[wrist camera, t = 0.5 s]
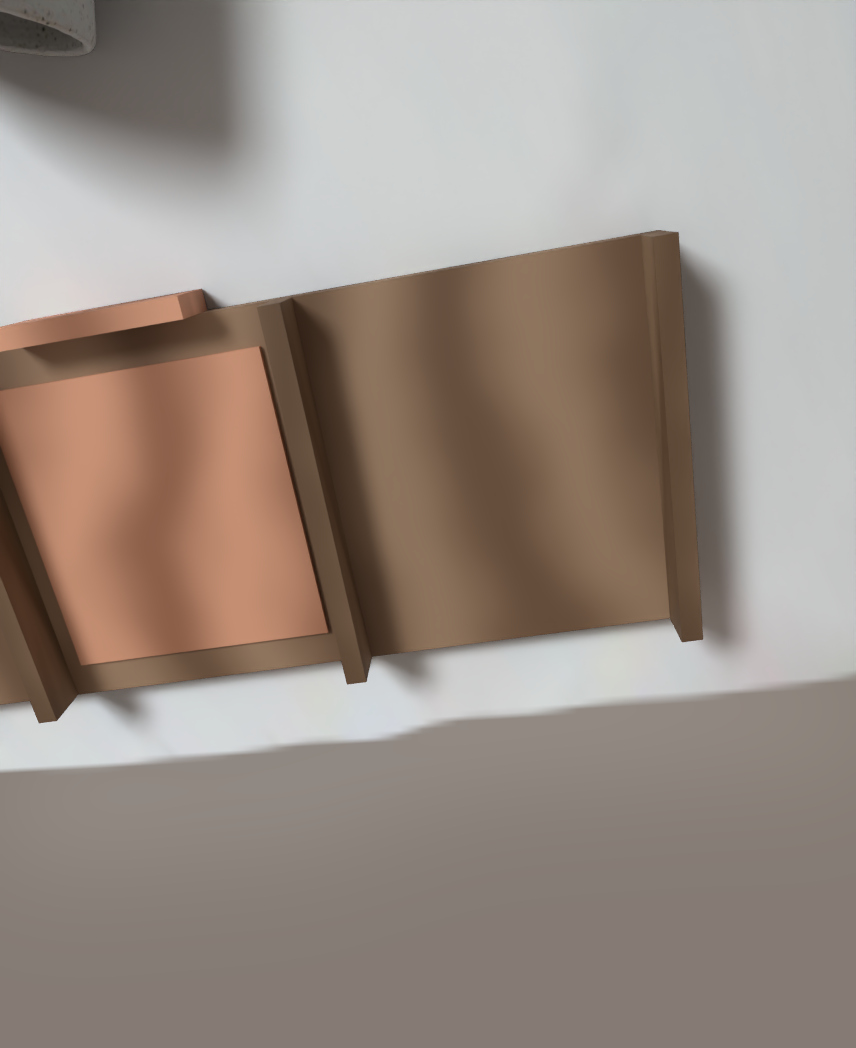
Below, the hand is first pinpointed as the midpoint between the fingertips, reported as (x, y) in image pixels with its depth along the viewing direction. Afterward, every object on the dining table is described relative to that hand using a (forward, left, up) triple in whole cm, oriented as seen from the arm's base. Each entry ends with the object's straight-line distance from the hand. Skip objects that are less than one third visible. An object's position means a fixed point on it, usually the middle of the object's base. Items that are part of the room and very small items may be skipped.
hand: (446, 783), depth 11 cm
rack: (+11, -6, -23) cm, 26 cm away
